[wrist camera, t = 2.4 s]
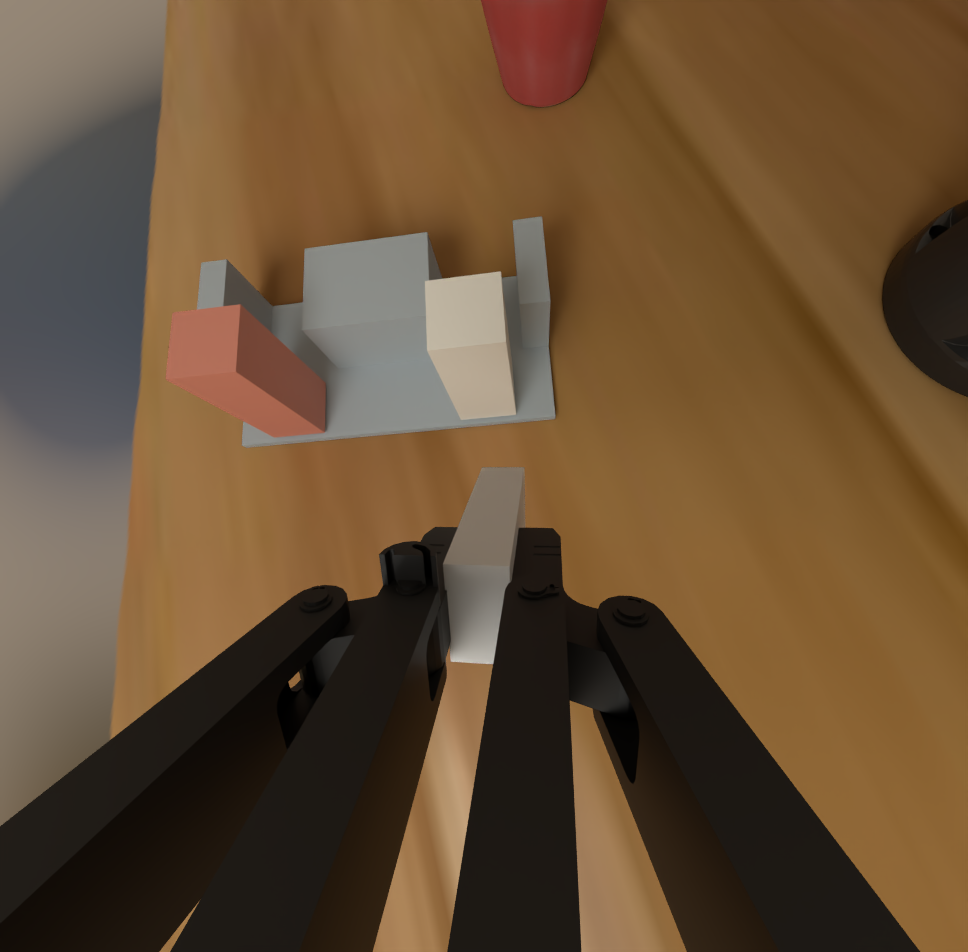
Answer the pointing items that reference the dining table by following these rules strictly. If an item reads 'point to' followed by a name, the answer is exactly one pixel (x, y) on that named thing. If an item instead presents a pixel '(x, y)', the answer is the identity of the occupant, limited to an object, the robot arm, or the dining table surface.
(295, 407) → the red plug
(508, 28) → the flower pot
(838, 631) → the dining table surface
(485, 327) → the cream plug
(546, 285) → the slot block
